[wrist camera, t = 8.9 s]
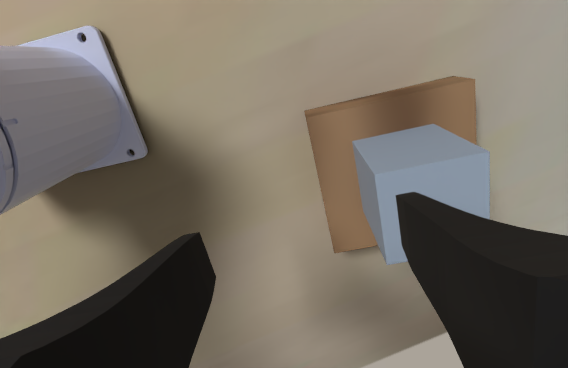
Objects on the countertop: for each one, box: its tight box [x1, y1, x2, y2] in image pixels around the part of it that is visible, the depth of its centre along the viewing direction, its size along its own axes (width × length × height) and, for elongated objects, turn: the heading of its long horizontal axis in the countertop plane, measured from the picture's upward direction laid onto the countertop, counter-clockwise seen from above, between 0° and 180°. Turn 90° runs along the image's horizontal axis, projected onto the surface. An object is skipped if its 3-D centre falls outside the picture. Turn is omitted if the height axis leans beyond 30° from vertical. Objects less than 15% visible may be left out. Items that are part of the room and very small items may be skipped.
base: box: [305, 76, 476, 253], centre depth 20 cm, size 9×9×2 cm
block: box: [352, 124, 490, 265], centre depth 16 cm, size 4×4×6 cm
